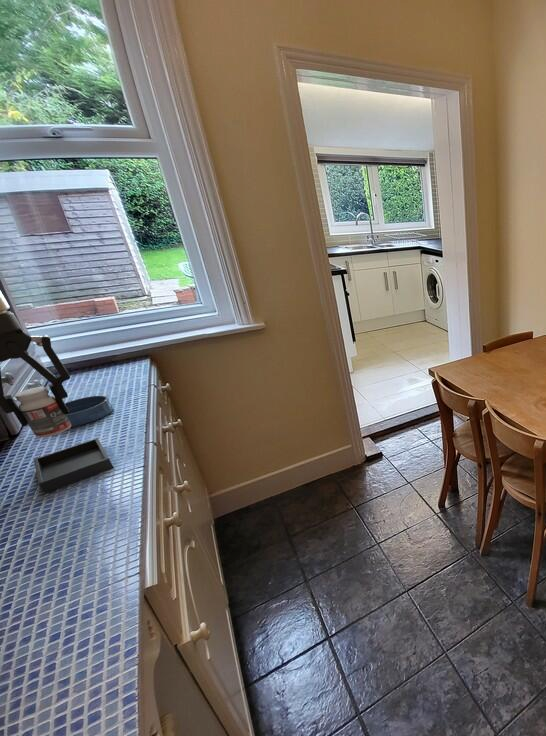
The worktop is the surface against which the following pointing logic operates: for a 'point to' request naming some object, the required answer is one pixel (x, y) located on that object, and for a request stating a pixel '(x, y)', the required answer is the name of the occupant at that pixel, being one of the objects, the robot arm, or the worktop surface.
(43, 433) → the pill bottle
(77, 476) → the tray
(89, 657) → the worktop surface
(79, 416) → the bowl
